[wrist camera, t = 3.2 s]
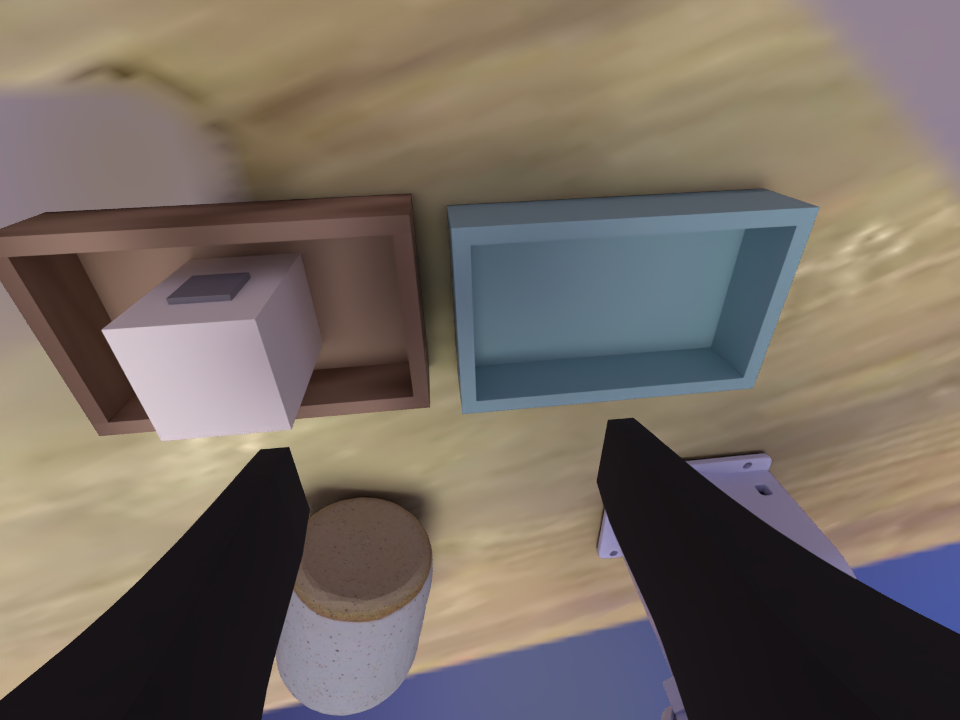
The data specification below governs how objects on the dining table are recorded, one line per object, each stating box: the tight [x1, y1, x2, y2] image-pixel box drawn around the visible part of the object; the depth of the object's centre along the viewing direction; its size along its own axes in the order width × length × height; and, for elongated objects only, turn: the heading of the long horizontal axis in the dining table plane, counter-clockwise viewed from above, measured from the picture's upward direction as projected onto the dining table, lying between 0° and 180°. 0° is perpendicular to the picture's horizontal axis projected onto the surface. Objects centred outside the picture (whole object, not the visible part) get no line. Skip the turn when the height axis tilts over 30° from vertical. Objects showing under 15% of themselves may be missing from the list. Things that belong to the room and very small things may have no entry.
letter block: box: [101, 253, 323, 441], centre depth 16 cm, size 4×4×6 cm
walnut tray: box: [0, 194, 430, 436], centre depth 17 cm, size 13×8×3 cm, turn 91°
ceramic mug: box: [276, 497, 433, 715], centre depth 23 cm, size 11×8×8 cm
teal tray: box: [447, 189, 819, 414], centre depth 18 cm, size 13×8×3 cm, turn 91°
